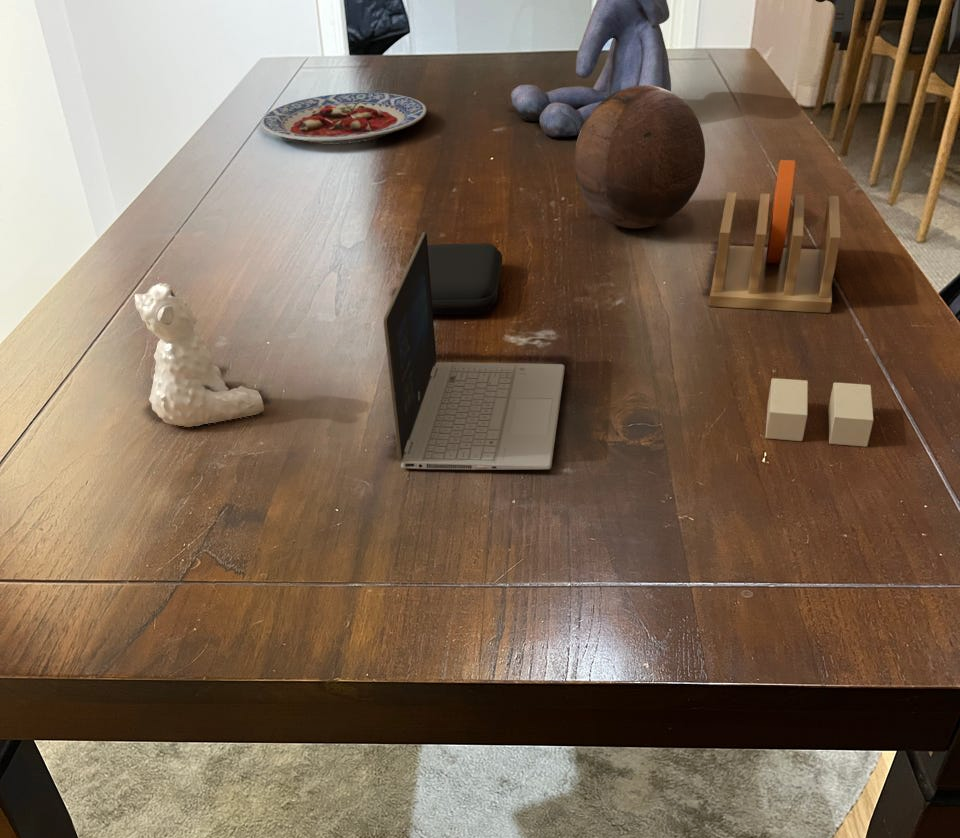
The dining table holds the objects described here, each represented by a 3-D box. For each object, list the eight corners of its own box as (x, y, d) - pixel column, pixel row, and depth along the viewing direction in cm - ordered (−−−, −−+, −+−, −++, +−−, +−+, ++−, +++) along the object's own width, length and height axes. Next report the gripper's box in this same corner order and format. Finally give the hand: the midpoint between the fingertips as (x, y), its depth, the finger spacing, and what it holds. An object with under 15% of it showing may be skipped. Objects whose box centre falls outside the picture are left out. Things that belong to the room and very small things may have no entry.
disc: (777, 275, 111) (790, 181, 110) (784, 247, 101) (798, 144, 100) (763, 274, 111) (776, 180, 110) (769, 246, 101) (782, 143, 100)
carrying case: (411, 266, 115) (393, 321, 104) (408, 239, 113) (390, 292, 102) (503, 264, 114) (496, 319, 103) (503, 237, 112) (495, 291, 101)
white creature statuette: (271, 412, 91) (245, 282, 83) (188, 449, 87) (152, 315, 79) (215, 379, 96) (185, 254, 88) (134, 413, 92) (95, 284, 84)
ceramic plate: (391, 158, 147) (389, 135, 145) (234, 149, 153) (230, 128, 151) (449, 110, 165) (448, 89, 163) (307, 104, 171) (304, 85, 169)
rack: (828, 260, 111) (841, 192, 106) (829, 313, 101) (843, 241, 96) (718, 255, 114) (725, 189, 109) (708, 306, 104) (716, 235, 99)
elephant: (501, 110, 163) (497, -42, 150) (645, 92, 167) (654, -57, 154) (540, 145, 148) (539, -21, 134) (697, 124, 152) (712, -38, 139)
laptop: (550, 475, 81) (551, 320, 72) (398, 471, 83) (380, 318, 74) (564, 371, 94) (566, 230, 86) (433, 369, 96) (421, 230, 87)
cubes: (864, 411, 86) (870, 384, 85) (867, 447, 82) (873, 419, 80) (767, 404, 88) (771, 377, 86) (765, 438, 84) (769, 411, 82)
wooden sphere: (721, 217, 123) (736, 80, 113) (655, 257, 114) (665, 112, 104) (618, 196, 130) (623, 65, 120) (548, 231, 122) (548, 94, 112)
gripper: (839, -184, 80) (813, 14, 79) (1033, -192, 77) (1009, 13, 76) (826, -109, 87) (802, 73, 86) (1003, -113, 84) (980, 74, 83)
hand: (899, 45), depth 81 cm, fingers open, 8 cm apart
